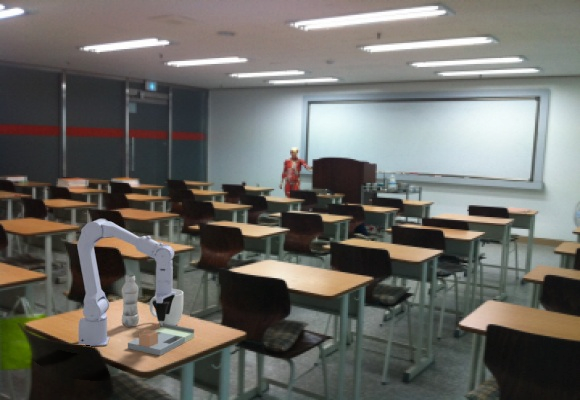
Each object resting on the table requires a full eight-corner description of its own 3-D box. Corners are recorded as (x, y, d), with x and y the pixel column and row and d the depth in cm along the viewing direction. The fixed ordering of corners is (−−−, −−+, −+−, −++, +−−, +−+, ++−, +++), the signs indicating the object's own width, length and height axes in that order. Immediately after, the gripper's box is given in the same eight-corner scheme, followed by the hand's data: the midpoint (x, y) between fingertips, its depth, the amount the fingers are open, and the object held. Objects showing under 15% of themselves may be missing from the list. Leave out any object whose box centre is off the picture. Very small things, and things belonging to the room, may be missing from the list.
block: (149, 347, 184) (149, 335, 183) (139, 344, 185) (139, 333, 185) (157, 343, 188) (158, 331, 187) (147, 340, 189) (147, 329, 189)
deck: (160, 355, 182) (160, 346, 181) (127, 348, 187) (127, 339, 187) (194, 337, 200) (194, 329, 200) (163, 331, 205) (163, 323, 205)
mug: (141, 324, 213) (141, 292, 211) (158, 317, 223) (159, 286, 221) (172, 330, 207) (172, 297, 205) (188, 322, 217) (189, 291, 215)
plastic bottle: (141, 323, 214) (141, 274, 212) (134, 329, 207) (135, 278, 205) (125, 322, 214) (125, 273, 212) (118, 328, 208) (118, 277, 206)
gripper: (171, 285, 183) (170, 324, 184) (179, 275, 197) (179, 311, 198) (150, 284, 183) (150, 323, 184) (160, 274, 197) (160, 310, 198)
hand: (163, 317), depth 191 cm, fingers open, 7 cm apart
